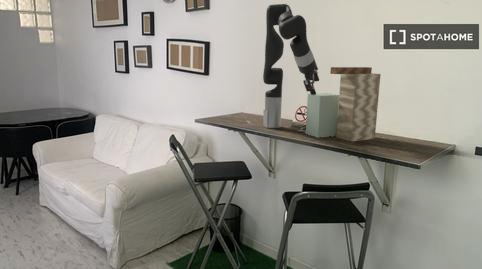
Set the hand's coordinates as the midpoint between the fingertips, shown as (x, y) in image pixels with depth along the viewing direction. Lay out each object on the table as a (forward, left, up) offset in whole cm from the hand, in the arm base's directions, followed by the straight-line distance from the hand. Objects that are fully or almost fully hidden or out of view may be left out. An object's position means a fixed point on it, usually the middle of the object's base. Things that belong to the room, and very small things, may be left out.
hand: (315, 87), depth 168 cm
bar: (+23, +8, +6) cm, 25 cm away
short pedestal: (+15, +19, -26) cm, 36 cm away
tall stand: (+29, +9, -26) cm, 40 cm away
